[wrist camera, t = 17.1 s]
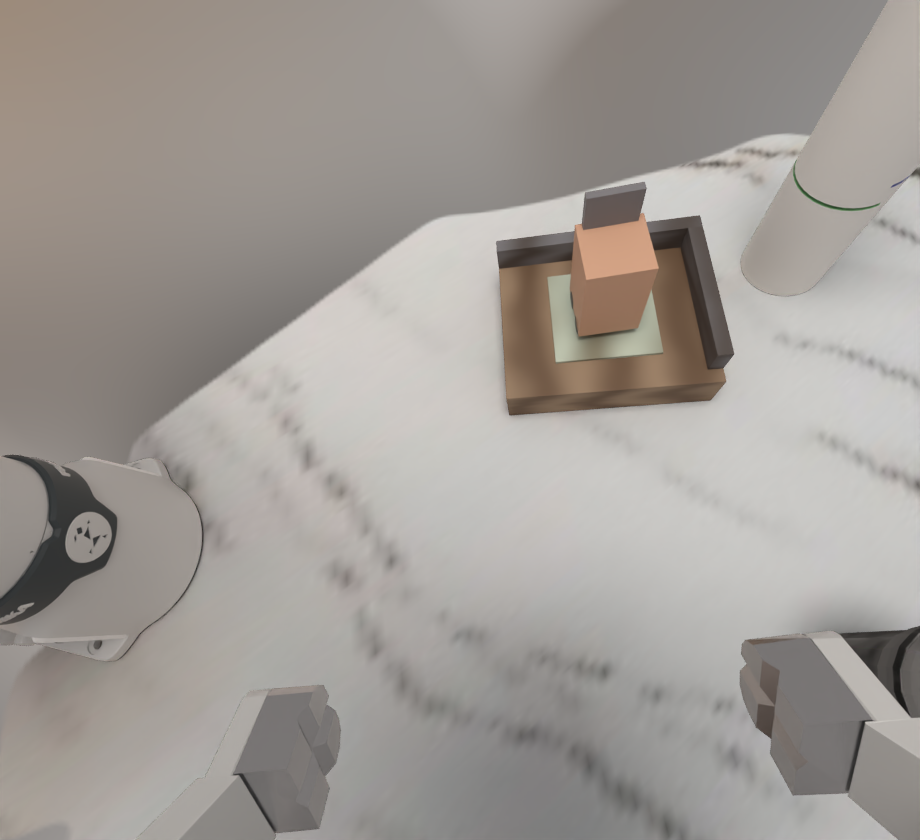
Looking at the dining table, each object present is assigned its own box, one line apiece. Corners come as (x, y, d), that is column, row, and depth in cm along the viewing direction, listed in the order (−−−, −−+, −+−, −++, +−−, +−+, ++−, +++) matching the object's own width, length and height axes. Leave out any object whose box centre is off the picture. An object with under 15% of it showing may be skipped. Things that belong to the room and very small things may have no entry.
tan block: (578, 341, 42) (590, 251, 31) (569, 294, 44) (577, 193, 33) (636, 332, 42) (669, 238, 31) (624, 285, 44) (652, 180, 33)
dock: (509, 415, 46) (504, 387, 40) (501, 283, 51) (496, 241, 45) (710, 400, 43) (737, 367, 37) (680, 263, 48) (699, 215, 42)
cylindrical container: (840, 269, 45) (1149, -74, 22) (779, 309, 45) (1028, 1, 22) (782, 223, 48) (1003, -126, 25) (724, 259, 48) (894, -60, 25)
